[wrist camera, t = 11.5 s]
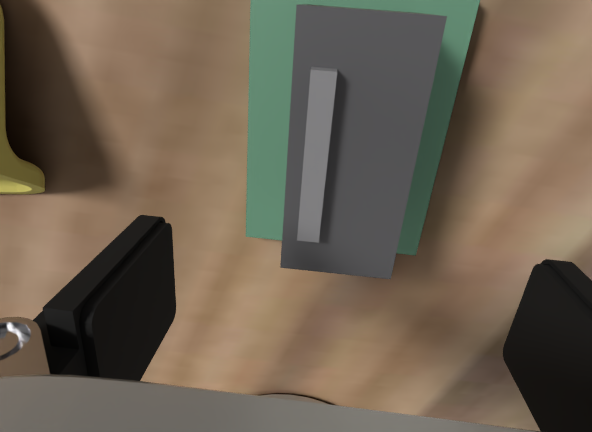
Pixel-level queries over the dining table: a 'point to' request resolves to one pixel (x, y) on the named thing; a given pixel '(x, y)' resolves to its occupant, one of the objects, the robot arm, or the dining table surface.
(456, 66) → the header
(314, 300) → the dining table surface
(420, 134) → the plug
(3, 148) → the plastic component
